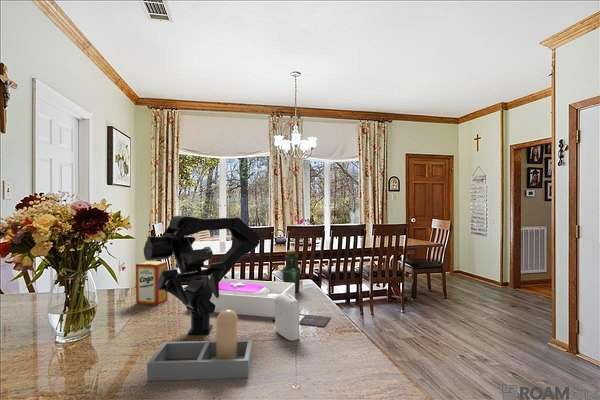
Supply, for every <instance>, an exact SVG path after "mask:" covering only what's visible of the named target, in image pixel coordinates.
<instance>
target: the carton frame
mask: <svg viewBox="0 0 600 400" xmlns="http://www.w3.org/2000/svg"><path fill="white" fill-rule="evenodd" d="M170 359H171V360H170ZM173 359H175V360H173ZM176 359H178V360H176ZM179 359H186V360H179ZM187 359H189V360H187ZM190 359H191V360H190ZM252 359H253V340H252V339H237V359H218V360H216V340H197V341H196V340H195V341H194V340H192V341H191V340H190V341H163V343H162V344H161V345H160V346H159V348H158V349H157V350H156V351H155V352H154V354H153V355H152V356H151V358H150V359H149V360H148V362H147V363H146V377H147V378H146V381H147V382H150V381H151V382H152V381H154V382H155V381H182V380H183V381H185V380H215V379H216V380H217V379H220V380H221V379H246V378H249V376H250V371H251V370H250V369H251V363H252Z"/></svg>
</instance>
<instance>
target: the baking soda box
mask: <svg viewBox="0 0 600 400" xmlns="http://www.w3.org/2000/svg"><path fill="white" fill-rule="evenodd" d="M165 270H168V261H158V260H150V261H147V260H145V261H142V262H138V263H136V264H135V298H136V299H135V302H136V303H135V304H136V305H145V304H149V305H148V306H160V305H162V304H164V303H165V302H167V301H168V292H165V291H164V290H159V288H158V285H157V281H158V279H159V277H160V275H161V273H162V271H165ZM161 303H162V304H161ZM159 304H160V305H159Z"/></svg>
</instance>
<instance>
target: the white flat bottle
mask: <svg viewBox="0 0 600 400" xmlns="http://www.w3.org/2000/svg"><path fill="white" fill-rule="evenodd" d="M299 314H300V304H299V302H298V300H297V299H296V297H295V298H294V297H293V296H291V295H289V294H287V293H282V294H278V295H277V296H276V298H275V317H274V318H275V322H274V323H275V324H274V328H275V331H276V333H278V334H279V335H280V336H282V337H283V338H284V339H285V340H288V341H290V342H291V341H292V342H293V341H297V340H299V338H300V334H301V333H300V325H299Z"/></svg>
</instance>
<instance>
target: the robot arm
mask: <svg viewBox="0 0 600 400" xmlns="http://www.w3.org/2000/svg"><path fill="white" fill-rule="evenodd" d="M169 221H170V222H169V225H168V227H166V229H165V231H164V232H163V234H162V235H161V236H154V235H149V236H147V239H146V241H145V244H144V247H143V255H144V259H145V261H158V260H168V259H169V258H170V257H174V260H175V264H174V266H175V268H173V269H167V270H165V271H162V273H161V275H160V277H159V279H158V281H157V285H158V288H159V290H164V291H165V292H167V293H170V294H171V295H172V296H174V297H175V298H177V299H178V300H179V301H180V302H181V303H182V305H184V306H185V307H186V311H187V310H188V311H190V328H189V330H188V331H187V335H209V334H210V333H211V331H212V329H213V324H211V323H210V322H211V318H210V317H211V314H213V313H215V312H214V310H215V307H216V306H215V305H214V304H213V303H212V302H211V301H210V299H211V297H212V293H213V294H214V295H215V297H216V298H218V297H219V282H220V281H221V280H222V279H224V278H225V276H226V275H227V274H228V273H229V272H230V271H231V269H232V268H234V266H235V265H236V264H237V263H238V261H239V260H240V259H241V258H243V257H244V256H246V255H247V254H250V253H252V251H254V250H255V249H256V248H257V247H259V244H260V235H259V233H257V232H256V231H254V229H253V228H251V227H250V226H249V225H248V224H246V223H245V222H244V221H243V220H242V219H241V218H240V217H237V216H228V217H211V218H210V217H209V218H207V217H203V218H200V217H196V216H195V217H194V216H187V215H175V216H173V217H172V218H171V219H170V220H169ZM214 230H215V231H216V230H219V231H220V230H229V232H230V236H232V237H233V239H232V241H231V242H232V243H231V247H230V248H229V249H228V250H227V251H226V252H225V253H224V255H222V257H221V258H220V259H219V260H218V261H217V262H214V263H210V264H209V266H208V267H207V268H205V269H203V267H204V266H205V262H206V261H209V259H211V258H212V257H213V255H214V253H213V250H212V249H211V246H204V247H203V248H199V249H197V248H196V249H194V248H193V244H194V243H195V240H196V237H194V236H191V235H195V234H199V233H200V232H204V231H214ZM178 271H179V272H178ZM197 278H198V279H199V278H201V279H199V280H196V279H197ZM185 280H191V281H189V283H188V284H187V285H186V286H183V284H182V281H185Z"/></svg>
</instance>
